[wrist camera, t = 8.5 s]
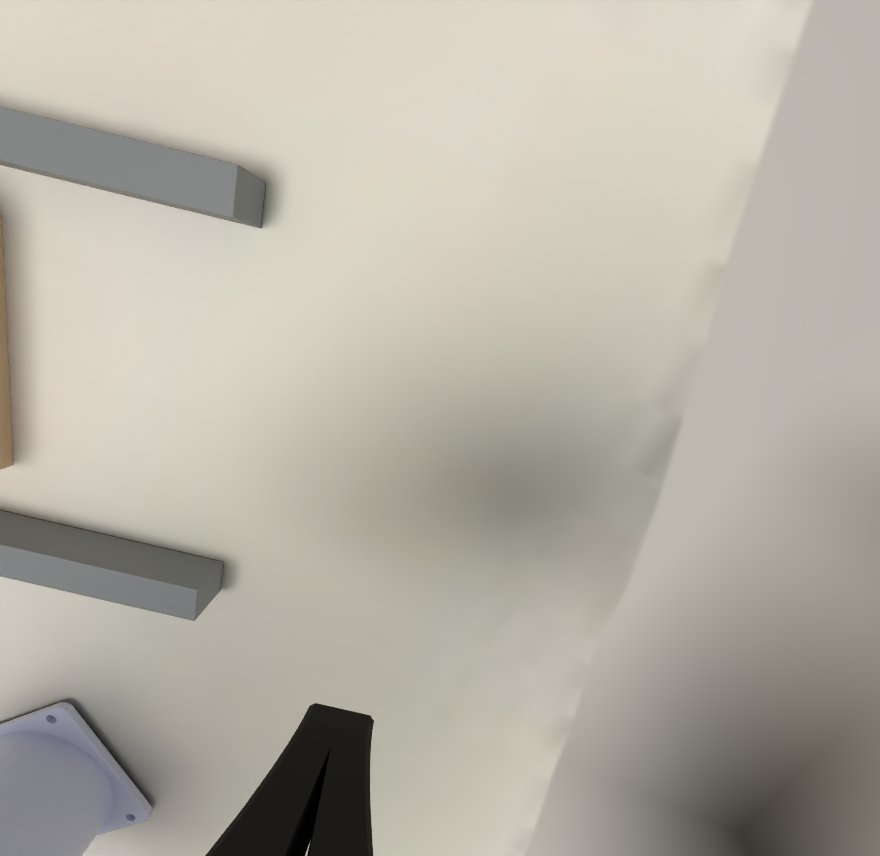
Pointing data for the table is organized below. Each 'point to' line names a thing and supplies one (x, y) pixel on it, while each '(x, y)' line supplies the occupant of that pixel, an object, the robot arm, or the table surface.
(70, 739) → the robot arm
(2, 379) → the carton
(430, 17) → the table surface
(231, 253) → the table surface
